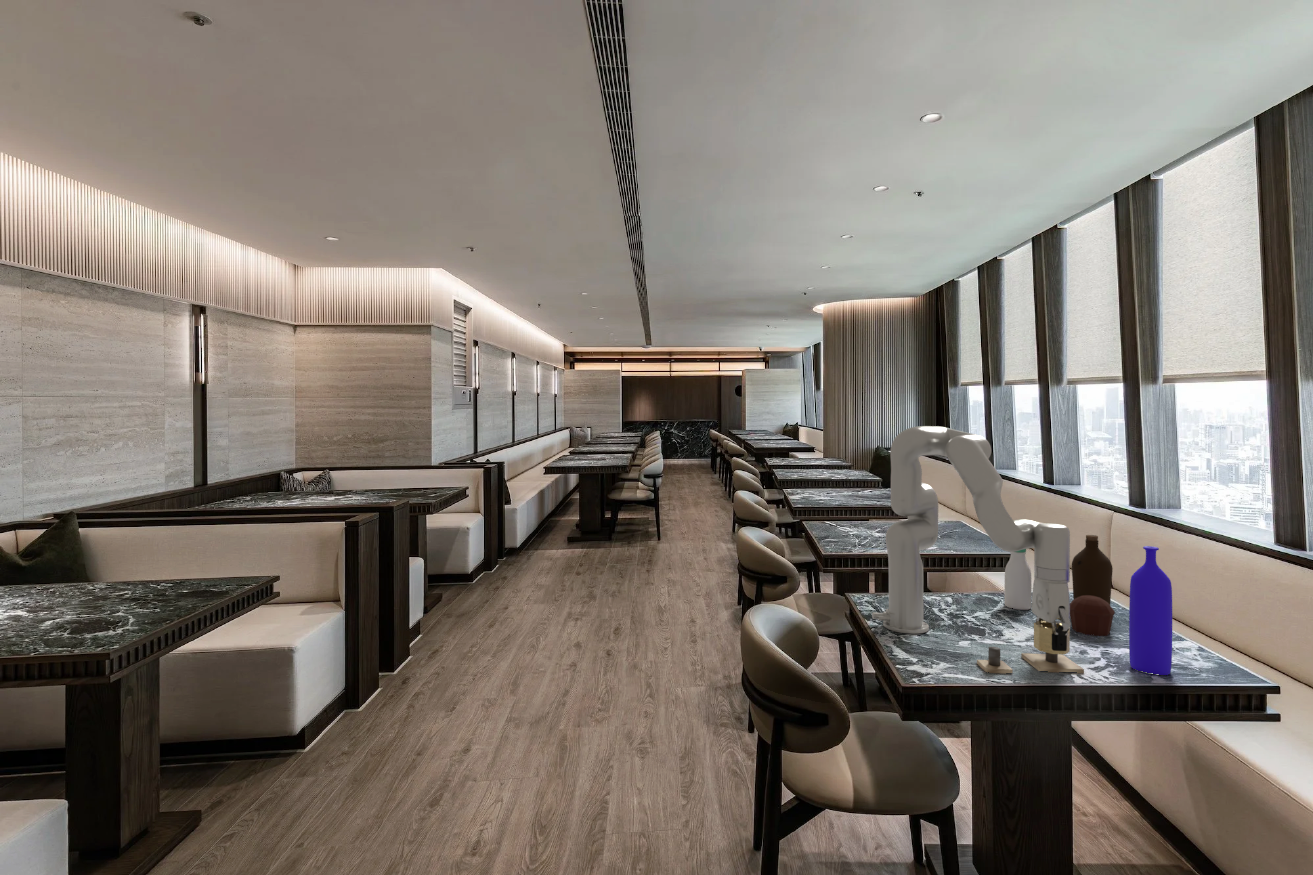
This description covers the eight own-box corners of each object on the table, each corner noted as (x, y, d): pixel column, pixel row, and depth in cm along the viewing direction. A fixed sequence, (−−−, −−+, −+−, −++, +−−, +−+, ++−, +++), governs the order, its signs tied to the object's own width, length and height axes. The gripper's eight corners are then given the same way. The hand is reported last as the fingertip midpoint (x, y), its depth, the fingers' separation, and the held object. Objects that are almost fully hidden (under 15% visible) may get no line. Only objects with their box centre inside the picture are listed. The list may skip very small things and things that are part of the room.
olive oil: (1109, 622, 194) (1109, 539, 193) (1068, 615, 201) (1068, 535, 201) (1114, 614, 201) (1115, 535, 201) (1075, 608, 209) (1075, 531, 208)
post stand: (1039, 671, 155) (1039, 638, 155) (1021, 656, 165) (1021, 626, 165) (1084, 673, 154) (1084, 640, 154) (1062, 658, 164) (1062, 627, 164)
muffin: (1067, 622, 193) (1067, 589, 193) (1112, 628, 188) (1112, 594, 188) (1069, 634, 183) (1069, 599, 183) (1116, 640, 177) (1116, 604, 177)
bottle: (1181, 675, 152) (1182, 549, 152) (1148, 677, 151) (1149, 550, 151) (1151, 663, 160) (1152, 543, 160) (1120, 664, 160) (1121, 544, 159)
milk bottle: (1035, 611, 206) (1035, 549, 206) (1009, 609, 207) (1009, 548, 207) (1026, 604, 213) (1026, 544, 213) (1001, 603, 215) (1001, 543, 215)
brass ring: (1043, 653, 156) (1043, 629, 156) (1030, 643, 163) (1030, 620, 163) (1073, 654, 156) (1074, 630, 156) (1059, 644, 163) (1059, 621, 162)
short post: (986, 672, 155) (986, 652, 155) (976, 663, 161) (976, 643, 161) (1012, 673, 154) (1012, 652, 154) (1002, 664, 160) (1002, 644, 160)
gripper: (1020, 565, 168) (1019, 633, 169) (1052, 581, 151) (1052, 656, 151) (1050, 566, 167) (1050, 634, 168) (1087, 582, 150) (1086, 658, 150)
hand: (1051, 644), depth 159 cm, fingers closed on brass ring, 7 cm apart
